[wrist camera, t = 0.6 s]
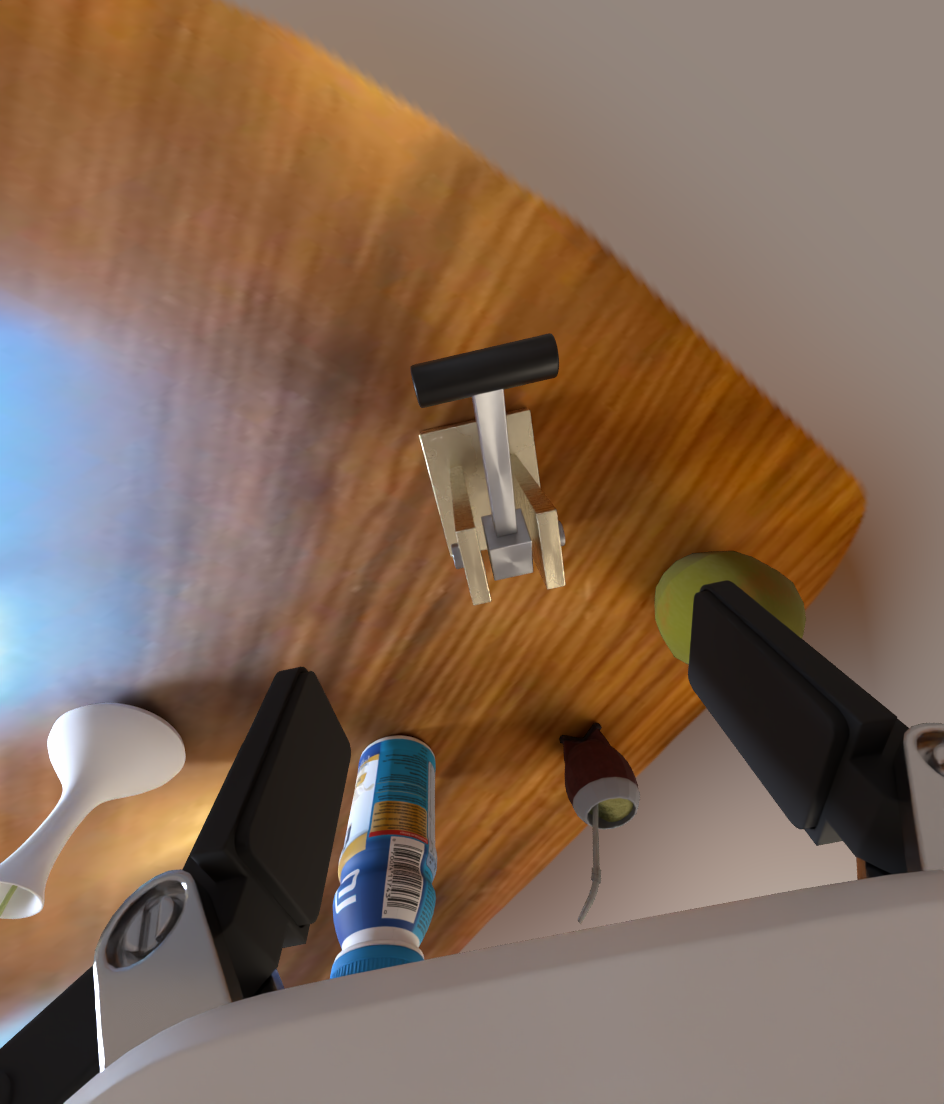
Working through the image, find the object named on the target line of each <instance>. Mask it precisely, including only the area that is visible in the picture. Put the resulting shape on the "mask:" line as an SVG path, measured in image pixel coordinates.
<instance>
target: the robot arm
mask: <svg viewBox="0 0 944 1104" xmlns="http://www.w3.org/2000/svg"><path fill="white" fill-rule="evenodd" d="M688 678H689V682H690V684H691V686H692V688H693V690H694V691H695V693H696V694H697V695H698V697H699V698H700V699H701V701H702V702H703V704H704V705H705V706H706V708H707V709H708V710H709V712H710V713H711V714H712V716H713V717H714V718H715V720H716V721H717V723H718V724H719V725H720V727H721V728H722V729H723V731H724V732H725V733H726V735H727V736H728V737H729V739H730V740H731V742H732V743H733V744H734V746H735V747H736V748H737V750H738V751H739V753H740V754H741V755H742V756H743V758H744V759H745V761H746V762H747V763H748V765H749V766H750V767H751V769H752V770H753V772H754V773H755V774H756V776H757V777H758V778H759V780H760V781H761V782H762V784H763V785H764V787H765V788H766V789H767V790H768V792H769V793H770V795H771V796H772V797H773V799H774V800H775V802H776V803H777V804H778V806H779V807H780V808H781V810H782V811H783V812H784V814H785V815H786V816H787V818H788V819H789V820H790V822H791V823H792V824H793V825H794V826H795V827H797V828H798V829H804V830H805V831H806V832H807V833H808V835H809V836H810V838H811V839H812V840H813V841H814V843H815V844H816V845H817V846H818V845H823V844H829V843H833V842H839V841H843V842H844V843H845V844H846V845H847V846H848V848H849V849H850V850H851V851H852V853H853V854H854V855H855V856H856V858H857V878H858V880H855V881H848V882H842V883H836V884H830V885H824V886H818V887H812V888H805V889H800V890H794V891H788V892H783V893H777V894H772V895H767V896H761V897H756V898H750V899H745V900H739V901H734V902H729V903H723V904H718V905H712V906H707V907H702V908H696V909H690V910H685V911H680V912H674V913H669V914H664V915H658V916H653V917H648V918H642V919H637V920H631V921H626V922H621V923H616V924H610V925H606V926H600V927H595V928H589V929H584V930H579V931H573V932H568V933H563V934H557V935H553V936H547V937H542V938H537V939H531V940H526V941H521V942H516V943H510V944H505V945H500V946H495V947H490V948H484V949H479V950H474V951H469V952H464V953H459V954H453V955H448V956H443V957H438V958H433V959H428V960H423V961H418V962H413V963H407V964H402V965H397V966H392V967H387V968H382V969H377V970H372V971H366V972H361V973H356V974H351V975H347V976H342V977H338V978H333V979H328V980H324V981H319V982H315V983H310V984H305V985H301V986H296V987H292V988H287V989H284V986H283V984H282V981H281V979H280V976H279V974H278V971H277V969H276V968H277V967H278V963H279V959H280V955H281V951H282V948H285V947H291V946H296V945H301V944H306V940H307V936H308V931H309V926H310V924H312V923H314V922H315V921H316V920H317V917H318V915H319V911H320V906H321V901H322V897H323V892H324V887H325V882H326V877H327V872H328V867H329V862H330V857H331V852H332V847H333V842H334V837H335V832H336V827H337V822H338V817H339V812H340V807H341V802H342V797H343V792H344V788H345V783H346V778H347V773H348V768H349V763H350V757H351V748H350V743H349V741H348V739H347V737H346V735H345V733H344V731H343V729H342V727H341V725H340V723H339V721H338V719H337V717H336V715H335V713H334V711H333V709H332V707H331V705H330V703H329V701H328V699H327V697H326V695H325V693H324V691H323V689H322V687H321V685H320V683H319V681H318V679H317V677H316V675H315V673H314V672H313V671H309V672H308V671H307V669H306V668H304V667H298V668H293V669H288V670H283V671H279V672H278V673H277V674H276V675H275V677H274V679H273V681H272V684H271V686H270V688H269V690H268V692H267V694H266V696H265V698H264V700H263V702H262V705H261V707H260V709H259V711H258V713H257V715H256V717H255V719H254V721H253V724H252V726H251V728H250V730H249V732H248V734H247V736H246V738H245V740H244V742H243V744H242V746H241V748H240V750H239V752H238V754H237V756H236V758H235V760H234V762H233V765H232V767H231V769H230V771H229V773H228V775H227V777H226V779H225V781H224V783H223V786H222V788H221V790H220V792H219V794H218V796H217V798H216V800H215V802H214V804H213V807H212V809H211V811H210V813H209V815H208V817H207V819H206V821H205V823H204V826H203V828H202V830H201V832H200V834H199V836H198V838H197V840H196V842H195V844H194V847H193V849H192V851H191V853H190V855H189V857H188V859H187V861H186V863H185V865H184V868H183V870H171V871H167V872H165V873H162V874H160V875H158V876H155V877H154V878H152V879H151V880H149V881H148V882H146V883H145V884H143V885H142V886H140V887H139V888H138V889H137V890H136V891H135V892H134V893H133V894H132V895H131V896H129V897H128V898H127V899H126V900H125V901H124V903H123V904H122V905H121V906H120V907H119V909H118V910H117V911H116V912H115V913H114V915H113V916H112V918H111V919H110V921H109V922H108V924H107V926H106V927H105V929H104V931H103V932H102V934H101V937H100V939H99V942H98V944H97V947H96V949H95V956H94V964H93V966H92V967H90V968H89V969H88V970H87V971H86V972H85V973H84V974H83V975H82V976H80V977H79V978H78V979H77V980H76V981H75V982H74V983H73V984H72V985H70V986H69V987H68V988H67V989H66V990H65V991H64V992H63V993H62V994H61V995H59V996H58V997H57V998H56V999H55V1000H54V1001H53V1002H52V1003H51V1004H49V1005H48V1006H47V1007H46V1008H45V1009H44V1010H43V1011H42V1012H41V1013H39V1014H38V1015H37V1016H36V1017H35V1018H34V1019H33V1020H32V1021H31V1022H29V1023H28V1024H27V1025H26V1026H25V1027H24V1028H23V1029H22V1030H21V1031H19V1032H18V1033H17V1034H16V1035H15V1036H14V1037H13V1038H12V1039H11V1040H9V1041H8V1042H7V1043H6V1044H5V1045H4V1046H3V1047H2V1048H1V1049H0V1104H944V724H942V723H922V724H918V725H915V726H911V728H908V727H907V726H906V725H904V724H903V723H902V722H901V721H900V720H898V719H897V716H895V715H894V714H893V713H892V712H891V711H889V710H888V709H887V708H886V707H884V706H883V705H882V704H881V703H880V702H878V701H877V700H876V699H875V698H873V697H872V696H871V695H870V694H869V693H867V692H866V691H865V690H864V689H862V688H861V687H860V686H859V685H858V684H856V683H855V682H854V681H853V680H851V679H850V678H849V677H848V676H847V675H845V674H844V673H843V672H842V671H841V670H839V669H838V668H837V667H836V666H834V665H833V664H832V663H831V662H829V661H828V660H827V659H826V658H825V657H823V656H822V655H821V654H820V653H819V652H817V651H816V650H815V649H814V648H812V647H811V646H810V645H809V644H808V643H806V642H805V641H804V640H803V639H801V638H800V637H799V636H798V635H797V634H795V633H794V632H793V631H792V630H790V629H789V628H788V627H787V626H786V625H784V624H783V623H782V622H781V621H780V620H778V619H777V618H776V617H775V616H773V615H772V614H771V613H770V612H769V611H767V610H766V609H765V608H764V607H762V606H761V605H760V604H759V603H758V602H756V601H755V600H754V599H753V598H751V597H750V596H749V595H748V594H747V593H745V592H744V591H743V590H742V589H740V588H739V587H738V586H737V585H736V584H734V583H733V582H731V581H728V580H726V581H721V582H716V583H711V584H706V585H703V586H702V587H701V588H700V592H698V593H696V594H695V595H694V601H693V615H692V628H691V641H690V654H689V668H688Z"/></svg>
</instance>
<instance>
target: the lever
mask: <svg viewBox="0 0 944 1104" xmlns="http://www.w3.org/2000/svg"><path fill="white" fill-rule="evenodd" d="M558 369H559V357H558V349H557V345H556V341H555V339H554V337H553V335H552V334H545V335H541V336H536V337H532V338H528V339H523V340H519V341H515V342H510V343H506V344H502V345H497V346H493V347H489V348H484V349H480V350H476V351H471V352H467V353H463V354H458V355H454V356H450V357H445V358H441V359H437V360H432V361H428V362H424V363H419V364H415V365H412V366H411V375H412V380H413V384H414V388H415V392H416V396H417V399H418V403H419V405H420V407H421V408H424V407H429V406H433V405H438V404H442V403H446V402H451V401H455V400H459V399H464V398H468V397H472V400H473V406H474V412H475V418H476V424H477V430H478V436H479V442H480V448H481V454H482V460H483V466H484V472H485V478H486V484H487V490H488V495H489V501H490V507H491V513H492V514H491V515H487V516H482V517H481V520H482V525H483V530H484V535H485V540H486V545H487V550H488V554H489V559H490V563H491V567H492V572H493V576H494V580H500V579H505V578H509V577H514V576H518V575H523V574H528V573H532V572H533V557H532V541H531V538H530V535H529V532H528V529H527V525H526V522H525V519H524V516H523V513H522V510H521V508H518V509H515V501H514V490H513V480H512V470H511V460H510V450H509V440H508V430H507V420H506V410H505V399H504V389H508V388H512V387H516V386H521V385H525V384H529V383H534V382H538V381H543V380H547V379H551V378H555V377H556V376H557V374H558Z"/></svg>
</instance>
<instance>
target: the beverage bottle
mask: <svg viewBox="0 0 944 1104" xmlns="http://www.w3.org/2000/svg"><path fill="white" fill-rule="evenodd" d="M436 869H437V853H436V848H435V756H434V754H433V752H432V750H431V749H430V747H429V746H428V745H426V744H425V743H424V742H422V741H421V740H418V739H416V738H413V737H409V736H401V735H396V736H388V737H384V738H381V739H379V740H376V741H375V742H373V743H371V744H370V745H369V746H368V747H367V748H366V749H365V750H364V752H363V753H362V755H361V758H360V762H359V767H358V775H357V781H356V786H355V791H354V797H353V802H352V807H351V812H350V817H349V823H348V828H347V833H346V838H345V843H344V848H343V851H342V853H341V856H340V860H339V867H338V877H339V881H340V884H341V885H340V887H339V889H338V890H337V892H336V894H335V896H334V901H333V917H334V925H335V929H336V933H337V937H338V940H339V943H340V946H341V948H342V951H341V952H340V953H339V954H338V955H337V957H336V959H335V961H334V964H333V967H332V970H331V976H330V979H333V978H338V977H342V976H347V975H351V974H356V973H361V972H366V971H372V970H377V969H382V968H387V967H392V966H397V965H402V964H407V963H413V962H418V961H423V960H424V955H423V953H422V951H421V950H420V949H419V948H418V947H419V946H420V944H421V942H422V940H423V938H424V936H425V934H426V932H427V929H428V927H429V925H430V922H431V919H432V915H433V911H434V907H435V899H436V897H435V891H434V888H433V886H432V882H433V879H434V877H435V874H436Z"/></svg>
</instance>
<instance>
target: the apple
mask: <svg viewBox="0 0 944 1104" xmlns="http://www.w3.org/2000/svg"><path fill="white" fill-rule="evenodd" d="M726 580H728V581H731V582H733V583H734V584H736V585H737V586H738V587H739V588H740V589H742V590H743V591H744V592H745V593H747V594H748V595H749V596H750V597H751V598H753V599H754V600H755V601H756V602H758V603H759V604H760V605H761V606H762V607H764V608H765V609H766V610H767V611H769V612H770V613H771V614H772V615H773V616H775V617H776V618H777V619H778V620H780V621H781V622H782V623H783V624H784V625H786V626H787V627H788V628H789V629H790V630H792V631H793V632H794V633H795V634H797V635H798V636H799V637H800V638H801V639H802V636H803V632H804V627H805V621H806V616H805V610H804V603H803V601H802V599H801V597H800V595H799V593H798V591H797V590H796V588H795V586H794V584H793V582H791V581H790V580H789V579H788V578H786V577H785V576H784V575H782V574H781V573H780V572H778V571H777V570H775V569H773V568H771V567H770V566H768V565H766V564H764V563H762V562H761V561H759V560H757V559H755V558H753V557H751V556H748V555H745V554H741V553H738V552H735V551H714V552H701V553H692V554H690V555H688V556H686V557H684V558H682V559H680V560H678V561H676V562H675V563H674V564H673V565H672V566H671V567H670V568H669V569H668V570H667V571H666V572H665V573H664V574H663V576H662V578H661V579H660V581H659V583H658V585H657V586H656V591H655V620H656V623H657V625H658V628H659V631H660V634H661V636H662V637H663V639H664V641H665V642H666V644H667V646H668V647H669V649H670V650H671V652H672V654H673V655H674V657H676V658H677V659H679V660H681V661H683V662H685V663H686V664H688V665H689V654H690V641H691V628H692V615H693V601H694V595H695V594H696V593H698V592H700V588H701V587H702V586H703V585H706V584H711V583H716V582H721V581H726Z"/></svg>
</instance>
